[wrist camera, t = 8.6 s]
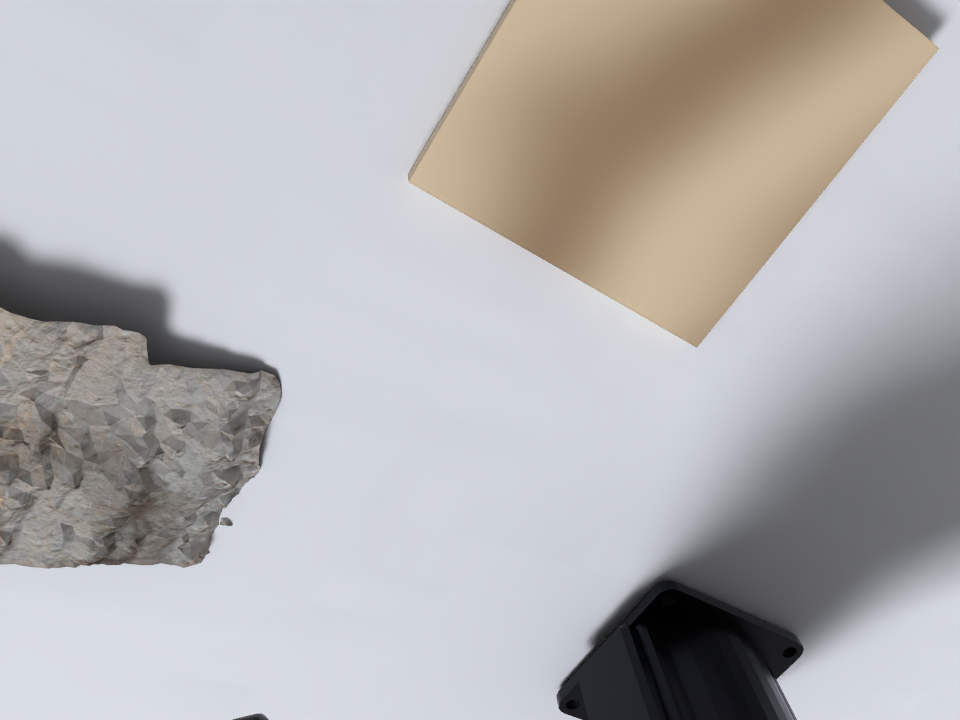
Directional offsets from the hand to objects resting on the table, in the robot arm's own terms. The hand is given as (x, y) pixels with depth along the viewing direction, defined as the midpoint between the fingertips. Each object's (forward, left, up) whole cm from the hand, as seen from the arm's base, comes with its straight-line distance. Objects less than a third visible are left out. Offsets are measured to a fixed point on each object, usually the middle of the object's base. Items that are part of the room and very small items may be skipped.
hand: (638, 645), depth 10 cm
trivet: (-1, -5, -13) cm, 14 cm away
